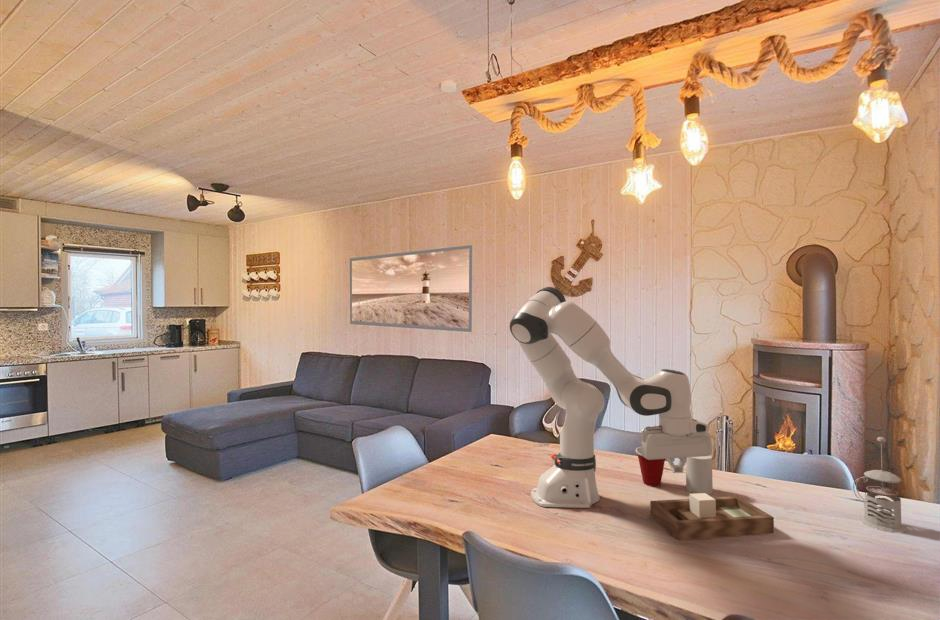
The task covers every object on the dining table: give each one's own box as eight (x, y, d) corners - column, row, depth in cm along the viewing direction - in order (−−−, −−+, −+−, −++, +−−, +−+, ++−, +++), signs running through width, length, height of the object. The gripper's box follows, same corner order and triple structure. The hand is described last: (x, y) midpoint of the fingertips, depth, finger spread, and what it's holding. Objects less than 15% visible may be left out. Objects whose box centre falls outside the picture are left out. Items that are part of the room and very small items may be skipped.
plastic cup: (635, 487, 164) (634, 453, 164) (636, 476, 174) (635, 444, 174) (668, 491, 160) (668, 456, 160) (667, 480, 170) (667, 447, 170)
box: (677, 539, 126) (677, 523, 126) (650, 515, 141) (650, 500, 141) (773, 533, 129) (773, 517, 129) (737, 510, 144) (737, 496, 144)
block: (699, 517, 135) (699, 500, 135) (689, 510, 140) (689, 493, 140) (715, 517, 135) (715, 499, 135) (705, 509, 140) (705, 493, 140)
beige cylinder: (706, 486, 164) (706, 452, 164) (716, 495, 156) (716, 459, 156) (682, 485, 165) (682, 451, 165) (691, 494, 157) (690, 458, 157)
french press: (897, 535, 127) (895, 443, 127) (846, 519, 137) (844, 434, 137) (913, 527, 131) (911, 438, 131) (863, 512, 141) (861, 429, 142)
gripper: (646, 429, 132) (647, 478, 132) (714, 425, 134) (716, 473, 134) (636, 424, 139) (638, 470, 139) (701, 420, 141) (703, 466, 141)
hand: (677, 472), depth 136 cm, fingers closed
